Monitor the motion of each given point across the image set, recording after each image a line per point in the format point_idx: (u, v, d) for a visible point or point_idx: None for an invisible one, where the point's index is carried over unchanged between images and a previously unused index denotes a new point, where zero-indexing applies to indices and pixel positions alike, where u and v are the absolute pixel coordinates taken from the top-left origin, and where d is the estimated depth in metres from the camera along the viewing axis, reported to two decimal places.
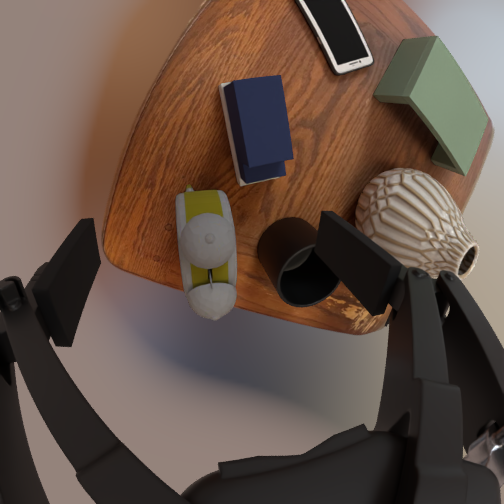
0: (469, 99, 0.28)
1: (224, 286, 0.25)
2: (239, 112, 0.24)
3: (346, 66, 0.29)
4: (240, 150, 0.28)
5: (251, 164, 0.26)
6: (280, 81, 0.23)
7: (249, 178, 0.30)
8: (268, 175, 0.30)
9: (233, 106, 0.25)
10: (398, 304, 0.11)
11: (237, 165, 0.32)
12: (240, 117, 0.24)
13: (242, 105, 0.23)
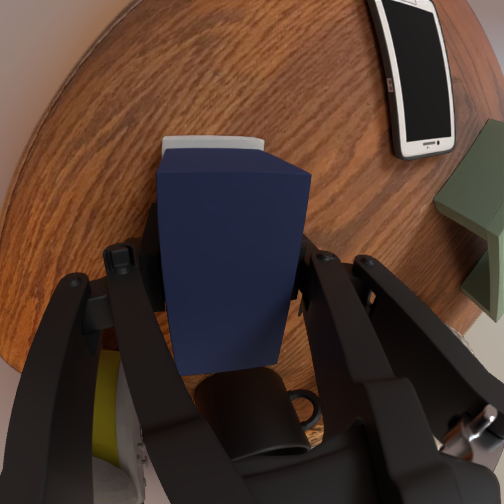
0: None
1: None
2: (163, 271, 0.09)
3: (418, 147, 0.17)
4: None
5: (183, 372, 0.11)
6: (305, 194, 0.09)
7: None
8: None
9: None
10: (308, 292, 0.11)
11: None
12: (165, 284, 0.09)
13: (174, 255, 0.09)
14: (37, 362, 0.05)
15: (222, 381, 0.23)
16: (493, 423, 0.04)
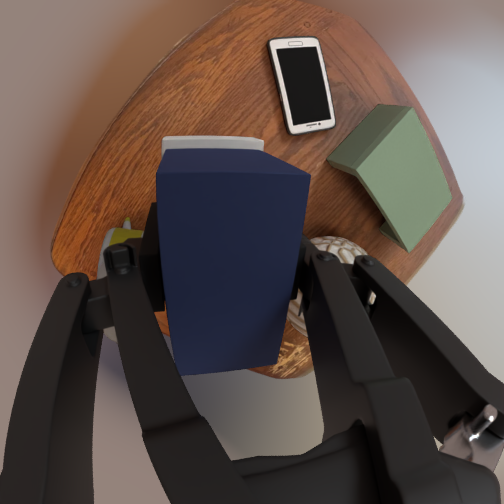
0: (433, 176, 0.36)
1: None
2: (163, 271, 0.09)
3: (302, 127, 0.35)
4: None
5: (183, 371, 0.11)
6: (304, 194, 0.09)
7: None
8: None
9: None
10: (308, 292, 0.11)
11: None
12: (165, 284, 0.09)
13: (174, 255, 0.09)
14: (37, 362, 0.05)
15: None
16: (493, 423, 0.04)
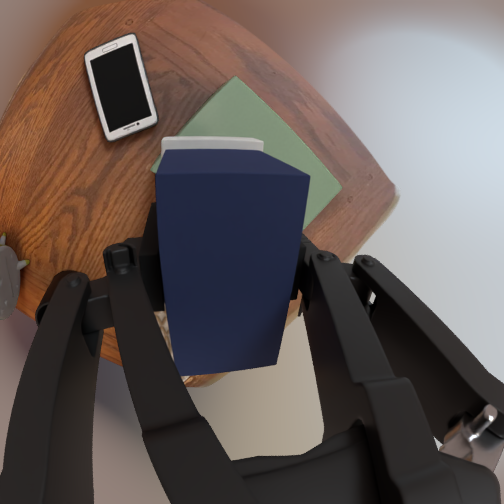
0: (293, 160, 0.32)
1: None
2: (163, 272, 0.09)
3: (119, 132, 0.30)
4: None
5: (183, 372, 0.11)
6: (304, 195, 0.09)
7: None
8: None
9: None
10: (308, 292, 0.11)
11: None
12: (164, 285, 0.09)
13: (173, 256, 0.09)
14: (37, 362, 0.05)
15: (56, 276, 0.36)
16: (493, 423, 0.04)
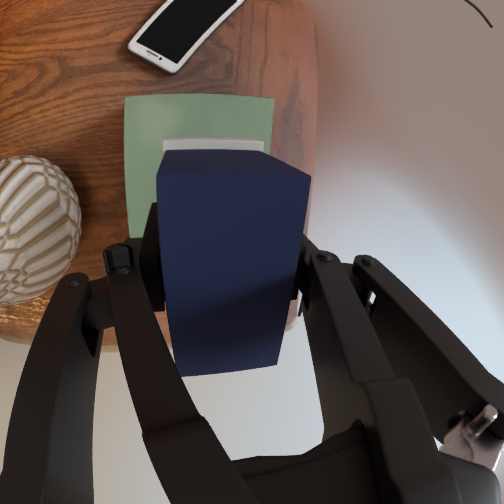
0: None
1: None
2: (163, 272, 0.09)
3: (141, 49, 0.23)
4: None
5: (183, 372, 0.11)
6: (304, 196, 0.09)
7: None
8: None
9: None
10: (308, 292, 0.11)
11: None
12: (165, 285, 0.09)
13: (174, 257, 0.09)
14: (37, 362, 0.05)
15: None
16: (493, 423, 0.04)
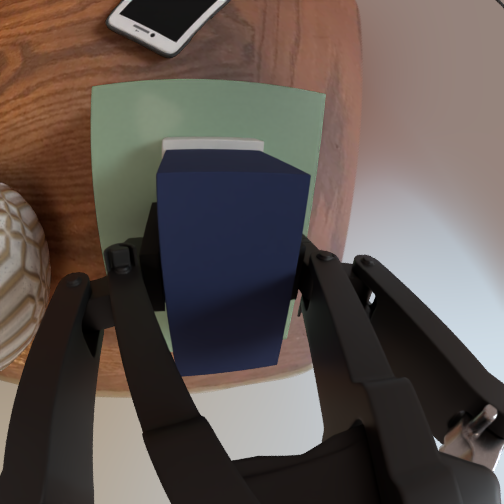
0: None
1: None
2: (163, 271, 0.09)
3: (126, 23, 0.14)
4: None
5: (183, 372, 0.11)
6: (304, 194, 0.09)
7: None
8: None
9: None
10: (307, 292, 0.11)
11: None
12: (165, 284, 0.09)
13: (174, 255, 0.09)
14: (38, 362, 0.05)
15: None
16: (493, 423, 0.04)
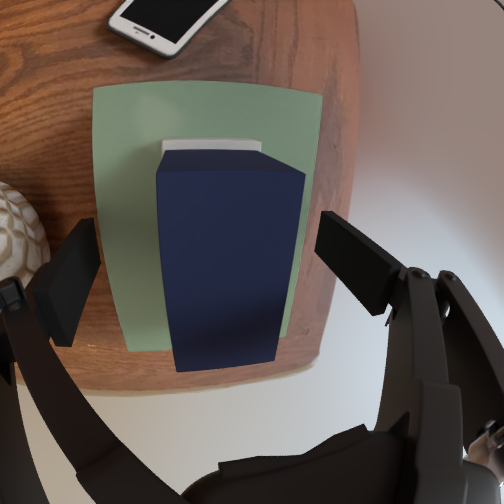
0: None
1: None
2: (163, 267, 0.09)
3: (127, 25, 0.14)
4: None
5: (182, 368, 0.12)
6: (299, 193, 0.09)
7: None
8: None
9: None
10: (398, 304, 0.11)
11: None
12: (164, 280, 0.09)
13: (173, 252, 0.09)
14: None
15: None
16: None
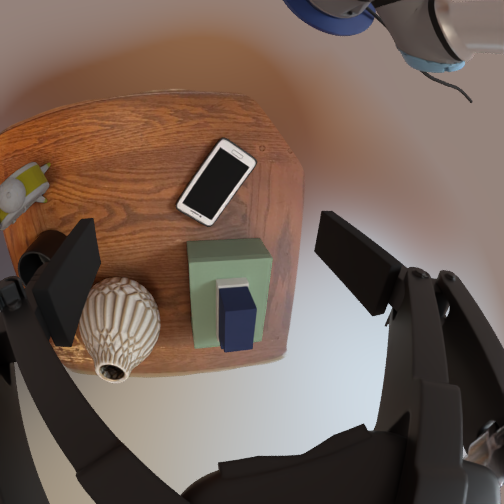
0: None
1: None
2: (225, 327, 0.41)
3: (187, 209, 0.46)
4: (221, 335, 0.45)
5: (226, 351, 0.43)
6: (255, 312, 0.41)
7: (223, 347, 0.47)
8: None
9: (222, 316, 0.42)
10: (398, 304, 0.11)
11: (218, 331, 0.49)
12: (225, 330, 0.41)
13: (227, 324, 0.41)
14: None
15: (56, 233, 0.41)
16: None
